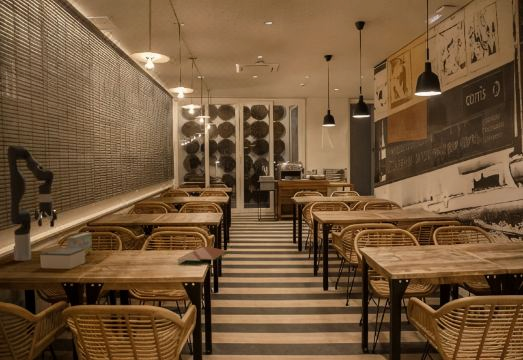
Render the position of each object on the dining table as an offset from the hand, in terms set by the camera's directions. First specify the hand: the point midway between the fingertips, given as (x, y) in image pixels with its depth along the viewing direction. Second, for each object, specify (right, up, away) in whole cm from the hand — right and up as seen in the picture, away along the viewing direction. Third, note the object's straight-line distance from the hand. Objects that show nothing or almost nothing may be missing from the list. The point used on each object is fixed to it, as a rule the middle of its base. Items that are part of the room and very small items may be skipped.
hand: (46, 226), depth 293 cm
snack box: (+13, -23, +22) cm, 34 cm away
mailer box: (+12, -24, -2) cm, 27 cm away
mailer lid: (+12, -16, -2) cm, 20 cm away
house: (+98, -22, +8) cm, 101 cm away
